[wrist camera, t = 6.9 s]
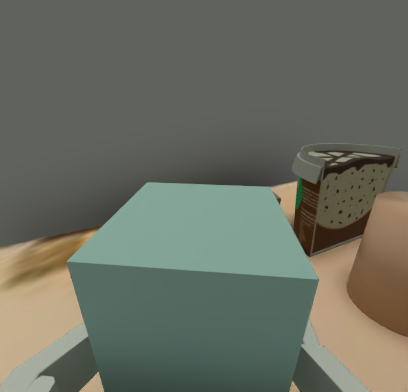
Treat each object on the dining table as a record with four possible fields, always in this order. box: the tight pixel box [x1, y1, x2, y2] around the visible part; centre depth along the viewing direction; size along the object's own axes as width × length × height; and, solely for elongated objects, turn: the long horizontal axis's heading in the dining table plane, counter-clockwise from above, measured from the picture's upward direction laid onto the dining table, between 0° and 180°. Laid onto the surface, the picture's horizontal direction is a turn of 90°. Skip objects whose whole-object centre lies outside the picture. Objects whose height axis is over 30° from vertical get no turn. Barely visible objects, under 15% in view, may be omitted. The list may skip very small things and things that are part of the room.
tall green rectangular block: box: [67, 183, 319, 392], centre depth 9 cm, size 5×5×11 cm
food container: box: [292, 143, 401, 257], centre depth 24 cm, size 12×6×10 cm, turn 115°
